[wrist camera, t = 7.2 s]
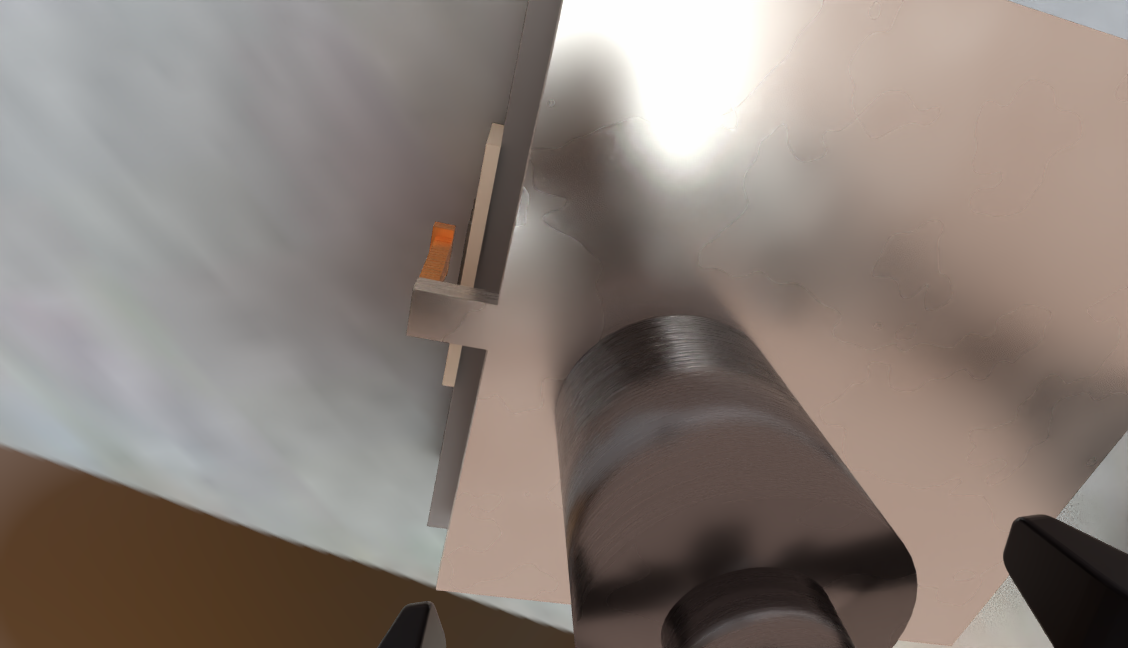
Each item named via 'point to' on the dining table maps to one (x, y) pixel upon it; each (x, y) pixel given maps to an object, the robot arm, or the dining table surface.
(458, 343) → the scale pan
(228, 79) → the dining table surface
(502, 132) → the scale base
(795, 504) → the weight
